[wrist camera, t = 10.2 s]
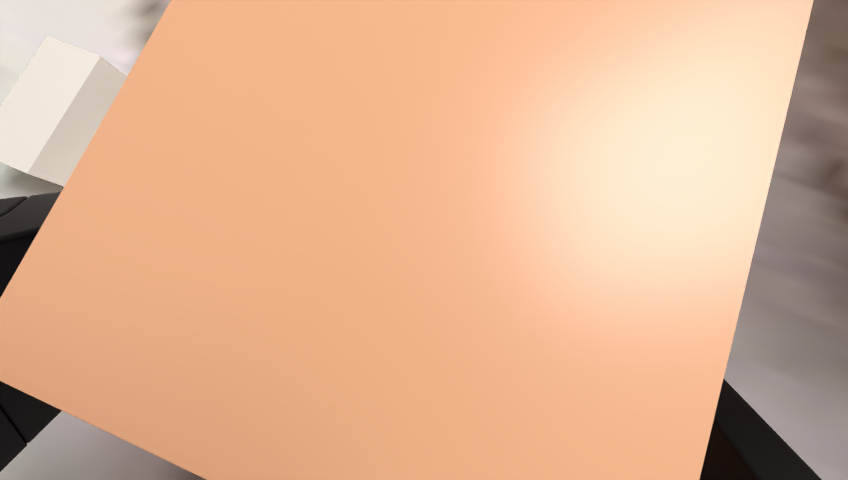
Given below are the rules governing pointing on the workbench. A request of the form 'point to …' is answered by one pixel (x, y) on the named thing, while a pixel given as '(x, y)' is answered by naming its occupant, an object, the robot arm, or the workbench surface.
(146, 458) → the workbench surface
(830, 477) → the workbench surface
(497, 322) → the terracotta brick
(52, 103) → the off-white brick
